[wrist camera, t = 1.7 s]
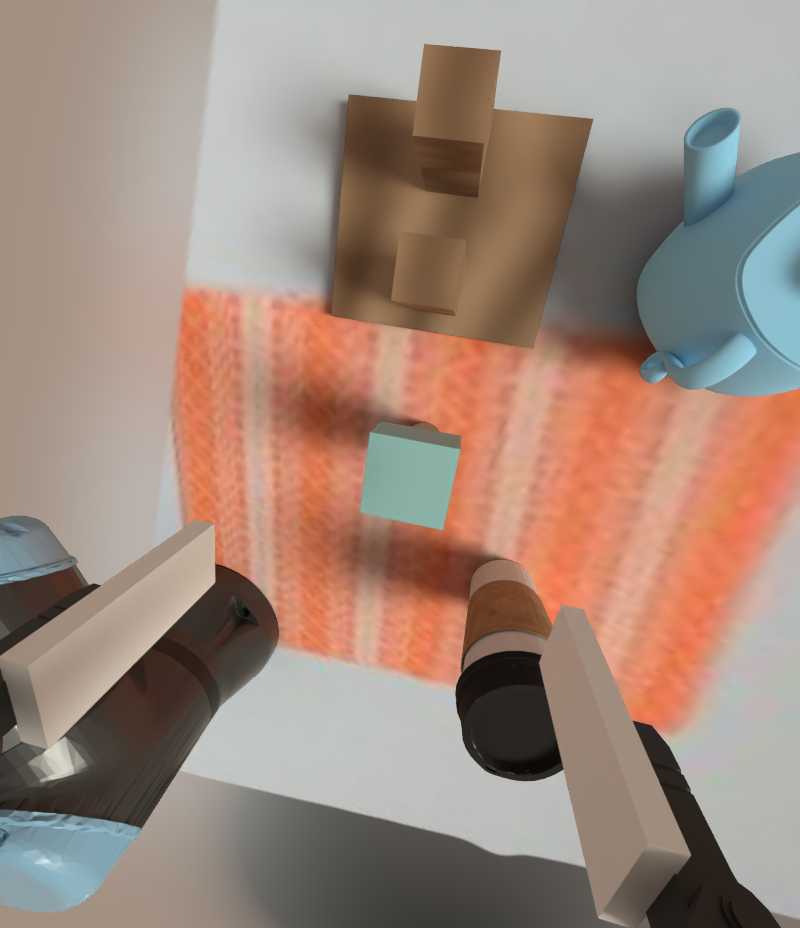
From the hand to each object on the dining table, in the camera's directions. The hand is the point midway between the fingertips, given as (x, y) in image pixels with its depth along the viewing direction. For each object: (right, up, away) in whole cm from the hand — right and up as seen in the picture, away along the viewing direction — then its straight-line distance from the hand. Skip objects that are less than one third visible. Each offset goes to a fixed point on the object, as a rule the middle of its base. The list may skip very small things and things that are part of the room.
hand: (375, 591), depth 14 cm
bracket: (+4, +22, +14) cm, 26 cm away
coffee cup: (+11, -7, +23) cm, 26 cm away
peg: (+3, +7, +19) cm, 21 cm away
